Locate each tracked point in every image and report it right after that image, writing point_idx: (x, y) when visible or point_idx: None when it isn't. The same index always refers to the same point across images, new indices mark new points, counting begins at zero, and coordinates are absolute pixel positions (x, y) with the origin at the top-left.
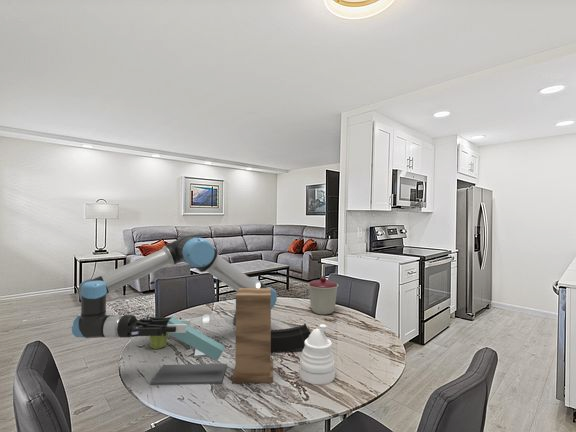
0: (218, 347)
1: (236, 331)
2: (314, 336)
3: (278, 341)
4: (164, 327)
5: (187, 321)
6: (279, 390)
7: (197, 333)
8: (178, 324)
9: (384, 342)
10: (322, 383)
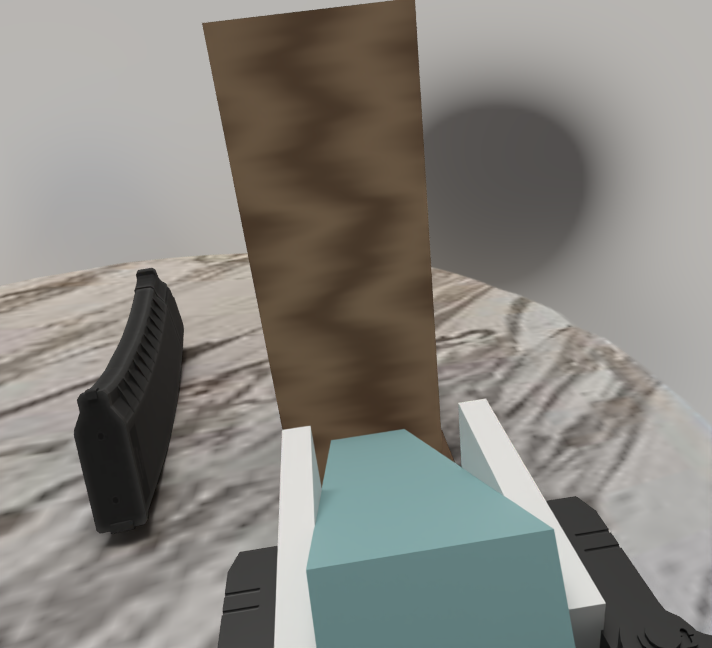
0: (394, 433)
1: (428, 251)
2: None
3: (161, 374)
4: (686, 632)
5: (314, 455)
6: (464, 376)
7: (379, 460)
8: (496, 465)
9: (177, 267)
10: None
